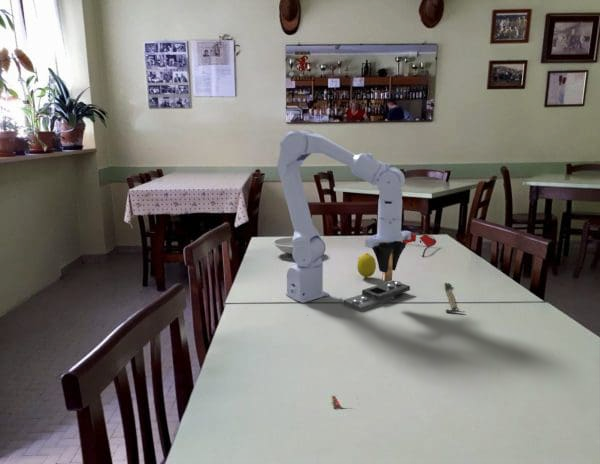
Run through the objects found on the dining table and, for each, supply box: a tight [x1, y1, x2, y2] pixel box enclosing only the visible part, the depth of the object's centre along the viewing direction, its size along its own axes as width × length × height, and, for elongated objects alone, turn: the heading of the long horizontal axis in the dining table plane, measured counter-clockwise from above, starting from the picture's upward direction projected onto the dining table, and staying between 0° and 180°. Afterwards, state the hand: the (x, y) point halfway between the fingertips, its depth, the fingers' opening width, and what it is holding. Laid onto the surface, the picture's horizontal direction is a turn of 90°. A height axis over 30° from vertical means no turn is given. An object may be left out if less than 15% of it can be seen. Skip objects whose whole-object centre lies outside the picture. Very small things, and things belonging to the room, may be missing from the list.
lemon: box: [356, 252, 377, 279], centre depth 136 cm, size 6×6×8 cm
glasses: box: [401, 232, 437, 258], centre depth 168 cm, size 14×16×5 cm
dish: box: [271, 236, 293, 255], centre depth 162 cm, size 18×14×5 cm
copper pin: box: [381, 250, 393, 282], centre depth 114 cm, size 2×2×8 cm
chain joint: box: [343, 280, 411, 312], centre depth 120 cm, size 19×6×3 cm, turn 127°
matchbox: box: [330, 394, 359, 410], centre depth 76 cm, size 5×5×1 cm
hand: (387, 270), depth 114 cm, fingers closed on copper pin, 2 cm apart
